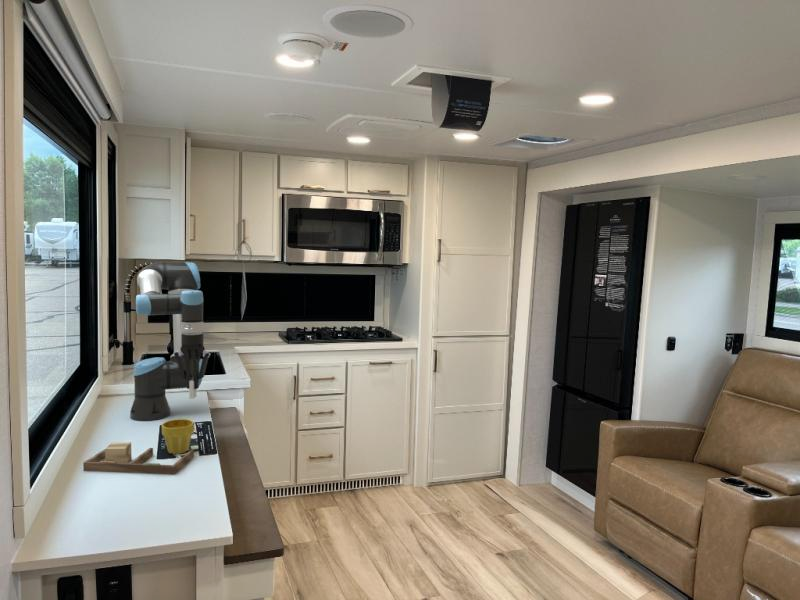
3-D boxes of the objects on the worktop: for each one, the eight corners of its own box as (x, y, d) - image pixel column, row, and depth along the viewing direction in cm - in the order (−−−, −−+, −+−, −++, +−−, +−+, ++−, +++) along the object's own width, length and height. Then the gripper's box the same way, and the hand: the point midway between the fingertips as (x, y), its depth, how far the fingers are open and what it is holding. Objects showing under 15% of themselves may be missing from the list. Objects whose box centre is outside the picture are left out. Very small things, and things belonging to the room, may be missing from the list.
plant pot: (183, 457, 195) (183, 429, 194) (155, 454, 197) (155, 426, 196) (200, 447, 205) (199, 420, 204) (173, 444, 207) (173, 417, 206)
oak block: (112, 460, 192) (111, 442, 191) (131, 459, 192) (131, 442, 192) (105, 467, 186) (105, 448, 185) (125, 466, 186) (125, 448, 186)
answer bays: (109, 453, 197) (109, 444, 197) (193, 456, 196) (193, 448, 196) (83, 470, 182) (83, 461, 182) (174, 474, 181) (174, 465, 181)
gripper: (170, 334, 207) (170, 399, 209) (206, 335, 206) (206, 400, 209) (179, 331, 215) (179, 394, 217) (214, 332, 214) (214, 395, 216)
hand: (193, 397), depth 213 cm, fingers closed
